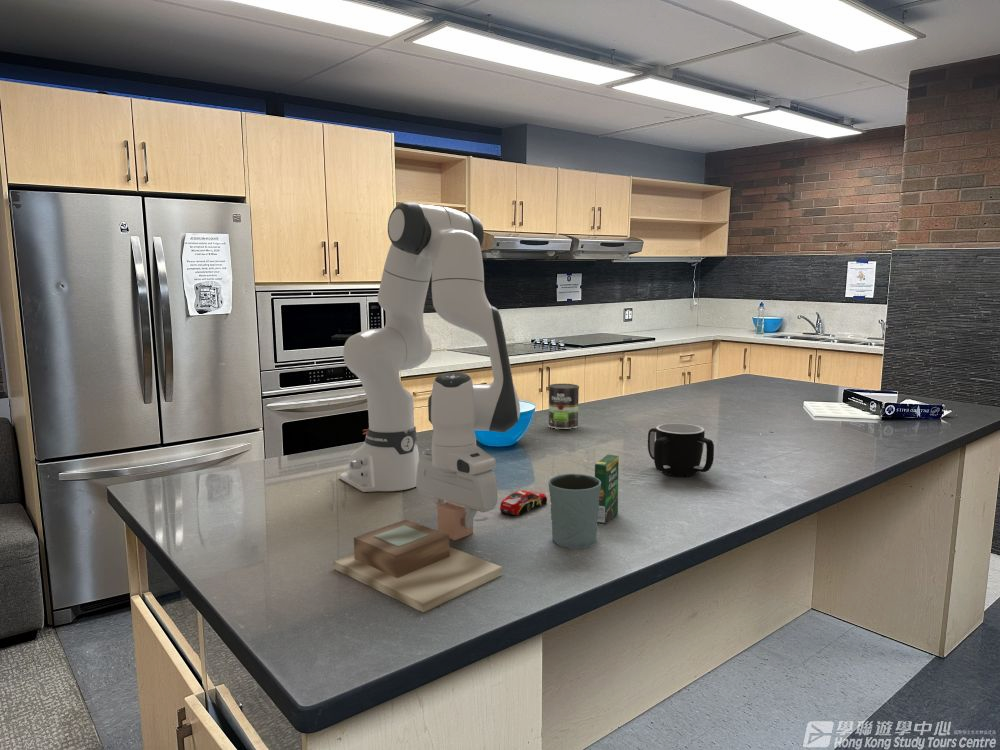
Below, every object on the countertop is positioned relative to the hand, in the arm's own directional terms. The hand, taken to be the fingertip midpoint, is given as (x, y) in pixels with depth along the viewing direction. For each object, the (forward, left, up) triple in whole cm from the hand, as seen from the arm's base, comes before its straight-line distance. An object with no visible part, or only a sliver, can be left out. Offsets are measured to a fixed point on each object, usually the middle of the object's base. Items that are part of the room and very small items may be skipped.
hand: (455, 522), depth 138 cm
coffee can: (-43, +92, -2) cm, 102 cm away
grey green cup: (+20, +13, -2) cm, 24 cm away
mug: (+13, +68, -2) cm, 69 cm away
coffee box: (+18, +27, -2) cm, 33 cm away
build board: (+8, -17, -2) cm, 19 cm away
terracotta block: (0, 0, -2) cm, 2 cm away
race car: (0, +21, -3) cm, 21 cm away
